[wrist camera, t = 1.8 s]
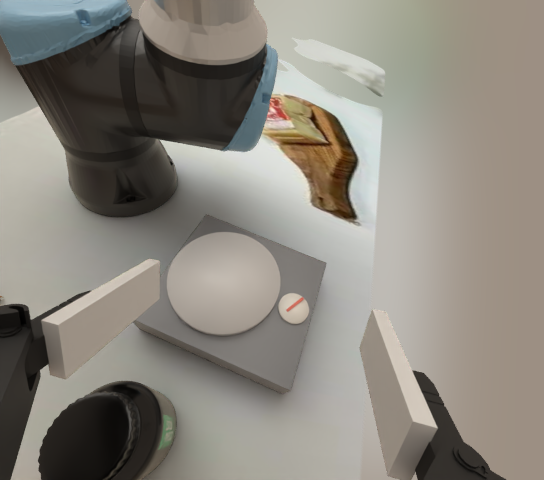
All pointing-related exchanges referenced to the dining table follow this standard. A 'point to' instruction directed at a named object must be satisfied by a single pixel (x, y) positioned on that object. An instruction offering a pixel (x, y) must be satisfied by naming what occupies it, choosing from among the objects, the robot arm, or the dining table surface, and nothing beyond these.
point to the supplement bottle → (109, 435)
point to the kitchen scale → (237, 302)
